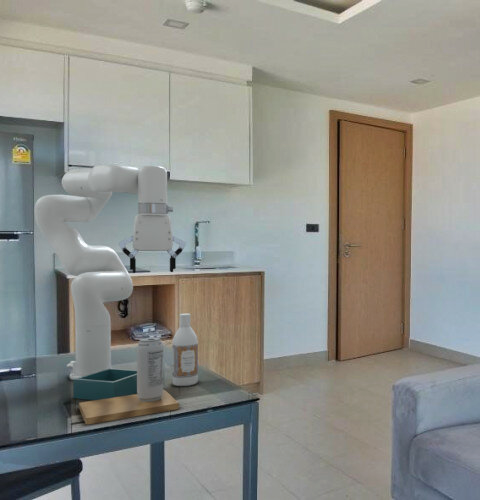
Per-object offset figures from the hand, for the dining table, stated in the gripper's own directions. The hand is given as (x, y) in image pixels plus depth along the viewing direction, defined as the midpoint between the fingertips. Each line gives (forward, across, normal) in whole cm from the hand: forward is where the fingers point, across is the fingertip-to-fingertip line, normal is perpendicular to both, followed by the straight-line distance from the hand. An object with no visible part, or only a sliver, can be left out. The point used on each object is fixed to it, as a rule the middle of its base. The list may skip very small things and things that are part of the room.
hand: (153, 272), depth 148 cm
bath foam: (+32, -8, -1) cm, 34 cm away
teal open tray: (+32, +10, +2) cm, 34 cm away
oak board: (+32, +6, +18) cm, 38 cm away
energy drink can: (+31, +1, +17) cm, 35 cm away
